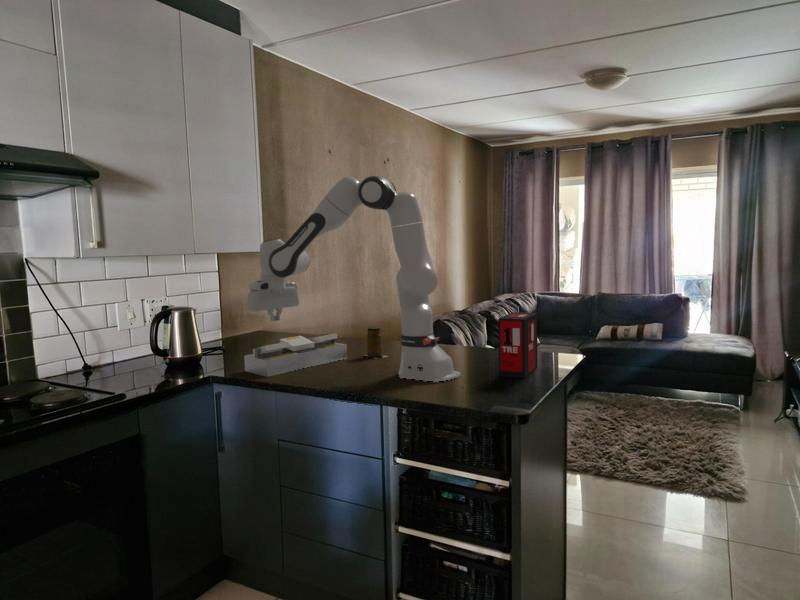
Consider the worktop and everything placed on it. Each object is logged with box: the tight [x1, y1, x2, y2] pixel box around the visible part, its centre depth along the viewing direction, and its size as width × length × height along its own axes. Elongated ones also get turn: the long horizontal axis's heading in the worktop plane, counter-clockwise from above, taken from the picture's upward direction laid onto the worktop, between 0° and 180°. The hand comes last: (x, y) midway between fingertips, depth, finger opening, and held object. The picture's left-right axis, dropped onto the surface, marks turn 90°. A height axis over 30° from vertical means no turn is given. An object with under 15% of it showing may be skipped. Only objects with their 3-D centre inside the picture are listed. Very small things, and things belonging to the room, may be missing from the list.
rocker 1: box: [252, 342, 289, 354], centre depth 208 cm, size 9×10×2 cm
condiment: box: [365, 326, 389, 360], centre depth 228 cm, size 7×8×12 cm
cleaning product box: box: [498, 311, 538, 379], centre depth 194 cm, size 16×9×20 cm, turn 152°
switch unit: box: [243, 338, 348, 378], centre depth 217 cm, size 15×38×9 cm, turn 137°
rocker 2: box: [279, 335, 315, 351], centre depth 216 cm, size 9×10×2 cm
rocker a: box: [308, 332, 339, 342], centre depth 225 cm, size 9×10×2 cm
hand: (275, 320), depth 204 cm, fingers closed
